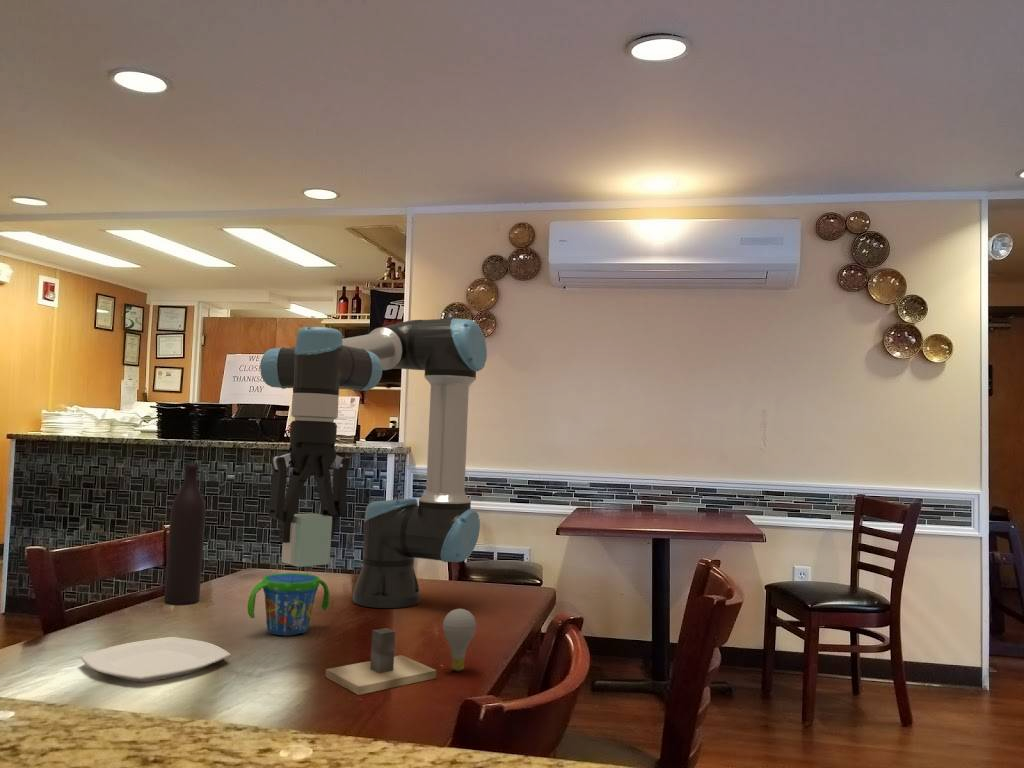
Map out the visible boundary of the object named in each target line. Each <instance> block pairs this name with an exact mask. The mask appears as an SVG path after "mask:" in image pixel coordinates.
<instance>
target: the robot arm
mask: <svg viewBox="0 0 1024 768" xmlns="http://www.w3.org/2000/svg"><path fill="white" fill-rule="evenodd" d="M487 355H488V349H487V343H486V339H485V336H484V333H483V331H482V329H481V327H480V326H479V324H478V323H477V322H476V321H474V320H472V319H467V318H455V317H453V318H442V319H441V318H435V319H434V318H433V319H413V320H407V321H402V322H398V323H394V324H390V325H387V326H383V327H376V328H374V329H373V330H371V331H370V332H369V333H367V334H364V335H357V336H352V337H351V336H350V337H346V338H343V334H342V332H341V331H340V330H339V329H337V328H333V327H327V326H326V327H325V326H324V327H323V326H304V327H301V328H300V329H298V331H297V334H296V340H295V347H284V346H281V347H276V348H270V349H268V350H267V351H265V352H264V354H263V355H262V357H261V359H260V363H259V368H260V370H259V371H260V376H261V378H262V381H263V382H264V383H265V384H266V385H267V386H269V387H271V388H278V389H279V388H280V389H282V390H283V389H292V397H291V414H290V415H291V417H292V418H294V420H292V421H291V422H290V427H289V448H288V449H287V452H286V454H283V455H279V456H277V455H274V456H272V457H271V458H270V463H271V468H272V477H271V478H272V479H271V488H270V498H269V505H268V506H269V508H268V517H269V518H272V519H275V520H277V521H278V523H279V529H278V530H279V531H278V534H279V535H278V540H279V542H280V543H282V544H283V551H282V550H281V560H282V562H281V563H285V564H287V565H290V564H294V559H295V543H296V527H297V523H294V522H292V520H293V517H294V514H296V512H297V511H296V510H297V507H298V505H299V501H300V498H301V495H302V491H303V489H304V486H305V483H306V482H307V481H308V477H313V480H314V481H315V485H316V488H317V493H318V498H319V503H320V509H321V515H326V516H332V530H331V540H333V539H334V537H335V526H336V525H335V524H336V523H335V522H337V521H339V520H340V519H339V518H340V517H344V516H346V513H347V485H348V483H347V481H348V478H347V476H348V470H349V466H350V464H351V459H350V457H342V456H339V455H337V452H336V449H335V445H336V443H337V433H338V432H337V431H338V424H337V423H336V422H335V420H337V419H338V417H339V394H340V390H351V391H355V392H357V391H358V392H361V391H364V392H365V391H370V390H372V389H374V388H375V387H376V386H377V385H378V384H379V382H380V381H381V379H382V376H383V371H388V370H393V369H400V370H413V371H424V379H425V380H426V381H427V382H428V383H429V384H430V395H429V397H430V398H429V419H428V420H429V421H428V442H427V462H426V463H427V464H426V467H427V468H426V483H425V484H426V489H425V492H424V493H423V494H422V495H421V496H420V497H419V498H418V500H417V499H416V498H402V499H401V498H400V499H389V500H378V501H372V502H369V504H367V506H366V509H365V516H364V521H363V523H364V527H363V546H362V547H363V550H362V564H361V565H362V567H361V570H360V573H359V575H358V578H357V579H356V584H355V586H354V589H353V592H352V602H353V603H354V604H356V605H358V606H359V605H360V606H362V607H367V608H378V609H398V608H406V607H411V606H415V605H417V604H419V603H420V598H421V592H420V588H419V584H418V579H417V576H416V571H415V567H414V566H415V564H414V563H415V559H422V560H433V561H440V562H443V563H448V562H450V563H451V562H452V563H461V562H464V561H465V560H467V559H468V558H469V557H470V556H471V554H472V553H473V551H474V550H475V548H476V546H477V542H478V539H479V535H480V529H481V521H480V520H481V519H480V518H479V517H480V515H479V513H478V512H477V511H476V510H475V509H473V508H472V507H471V506H472V505H471V503H472V500H471V498H469V496H468V495H467V494H466V492H465V488H466V487H465V483H466V464H467V463H466V462H467V460H466V459H467V438H468V418H469V417H468V413H469V412H468V411H469V394H470V393H469V390H470V388H469V387H470V386H471V385H472V384H473V383H474V381H476V380H477V372H480V371H481V370H483V369H484V367H485V366H486V362H487V357H488V356H487ZM289 464H290V465H291V466H292V471H291V472H290V473H291V474H290V477H289V479H290V482H289V484H288V487H287V478H288V467H289V466H290V465H289ZM331 466H332V467H333V470H332V471H333V472H332V478H331V471H330V467H331ZM331 479H332V483H331ZM331 484H332V485H331ZM286 487H287V489H286Z"/></svg>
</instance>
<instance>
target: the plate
mask: <svg viewBox="0 0 1024 768" xmlns="http://www.w3.org/2000/svg"><path fill="white" fill-rule="evenodd" d="M228 657H231V653H229V652H228V651H227V650H226V649H223V648H222V647H220V646H217V645H216V644H213V643H210V642H207V641H203V640H198V639H197V640H196V639H192V638H191V639H190V638H183V637H175V636H174V637H173V636H168V637H167V636H166V637H160V638H153V639H146V640H145V639H144V640H140V641H139V640H138V641H132V642H128V643H122V644H117V645H114V646H113V645H112V646H109V647H106V648H104V649H100V650H97V651H93V652H91V653H88V654H84V655H82V656H81V657H80V659H81V660H82V662H83V663H84V664H85V665H87V666H88V667H89V668H90V669H92V670H94V671H97V672H99V673H101V674H105V675H111V676H113V677H115V678H119V679H123V680H127V681H132V682H133V681H134V682H140V683H146V682H147V683H148V682H154V681H159V680H164V679H169V678H175V677H179V676H183V674H184V675H188V674H191V673H194V672H196V670H197V671H198V669H199V670H201V668H202V669H204V668H206V667H209V666H211V665H212V663H213V664H215V663H217V662H219V661H222V660H224V659H226V658H228ZM210 664H211V665H210ZM208 665H209V666H208ZM203 667H204V668H203ZM193 671H194V672H193ZM190 672H191V673H190ZM187 673H188V674H187Z"/></svg>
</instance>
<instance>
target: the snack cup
mask: <svg viewBox="0 0 1024 768" xmlns="http://www.w3.org/2000/svg"><path fill="white" fill-rule="evenodd" d="M320 585H321V586H322V587H323V590H324V591H323V598H322V602H321V608H322V610H323V611H328V609H329V607H330V599H331V597H330V589H329V586H328V584H327V583H326V581H324V580H322V579H320V576H317V575H314V574H309V573H308V574H307V573H290V572H289V573H275V574H274V573H273V574H268V575H265V576H264V577H262V580H261V581H260V582H258V583H257V584H255V586H254V587H253V589H251V592H250V595H249V598H248V601H247V614H248V616H249V618H251V619H254V618H255V604H256V597H257V593H259V591H260V590H261V589H263V593H264V603H265V604H264V607H265V608H264V609H265V614H266V615H265V617H266V618H265V620H266V622H265V623H266V630H267V632H268V634H272V635H275V636H276V635H277V636H285V637H286V636H296V635H298V634H305V633H307V630H308V629H309V627H310V623H311V619H312V616H313V615H312V614H313V609H314V603H315V599H316V594H317V591H318V588H319V586H320Z"/></svg>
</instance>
